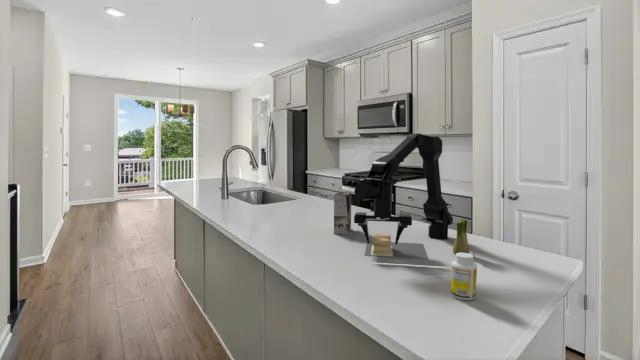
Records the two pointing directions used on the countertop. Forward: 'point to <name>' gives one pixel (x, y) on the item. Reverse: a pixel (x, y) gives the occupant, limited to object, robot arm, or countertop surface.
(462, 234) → the fennel bulb
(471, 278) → the supplement bottle
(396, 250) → the mat
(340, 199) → the coffee box
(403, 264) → the countertop surface
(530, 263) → the countertop surface
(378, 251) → the oak block
